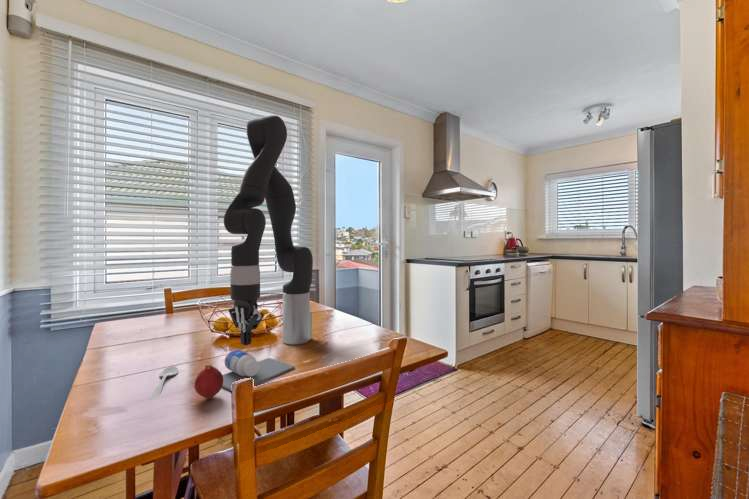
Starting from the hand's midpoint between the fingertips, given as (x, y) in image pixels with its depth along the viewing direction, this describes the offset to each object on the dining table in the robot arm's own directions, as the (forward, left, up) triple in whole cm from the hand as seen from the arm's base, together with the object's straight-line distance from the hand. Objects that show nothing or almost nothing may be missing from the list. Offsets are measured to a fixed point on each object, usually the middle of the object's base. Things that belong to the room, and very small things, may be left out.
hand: (245, 344), depth 89 cm
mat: (+1, +5, -7) cm, 9 cm away
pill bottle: (+3, -2, -4) cm, 5 cm away
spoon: (+18, -9, -8) cm, 21 cm away
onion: (+14, +7, -7) cm, 18 cm away
